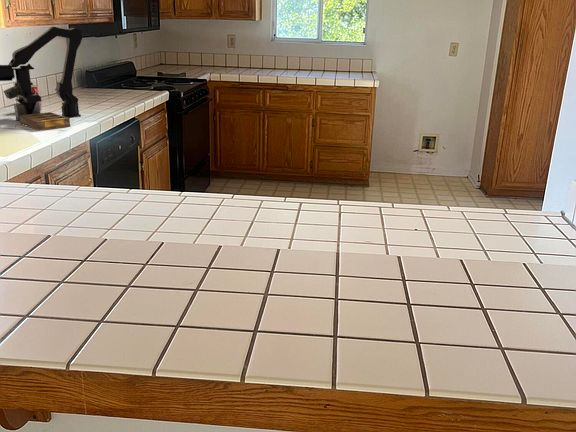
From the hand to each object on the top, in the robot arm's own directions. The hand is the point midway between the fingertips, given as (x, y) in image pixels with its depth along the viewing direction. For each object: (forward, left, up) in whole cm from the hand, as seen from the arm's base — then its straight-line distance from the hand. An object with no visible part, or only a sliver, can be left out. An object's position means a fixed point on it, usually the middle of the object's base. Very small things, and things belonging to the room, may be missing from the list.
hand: (28, 115), depth 252 cm
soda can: (-10, -18, -2) cm, 21 cm away
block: (0, 0, -2) cm, 2 cm away
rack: (0, +17, -2) cm, 17 cm away
